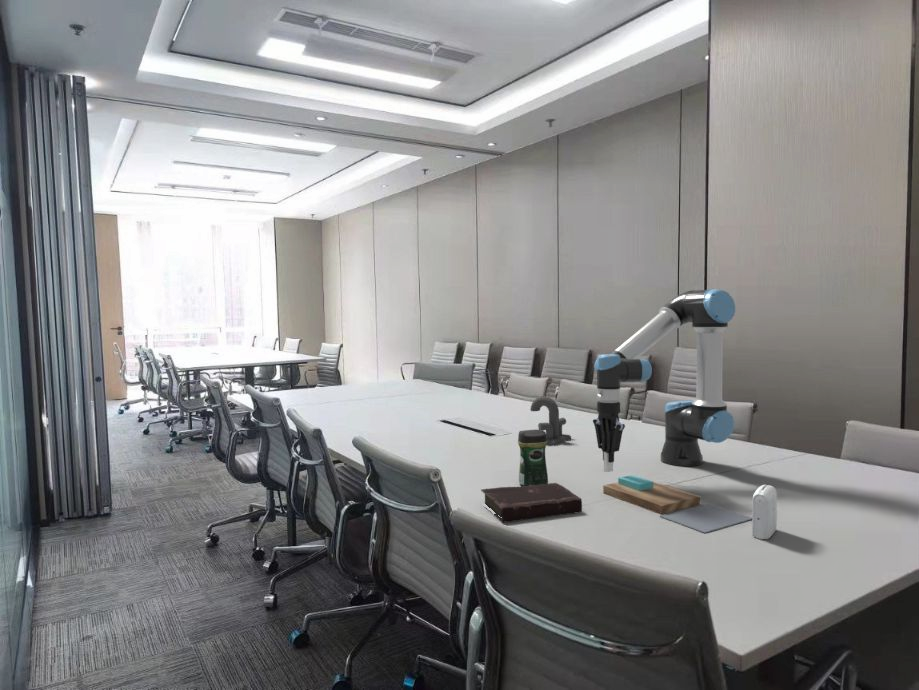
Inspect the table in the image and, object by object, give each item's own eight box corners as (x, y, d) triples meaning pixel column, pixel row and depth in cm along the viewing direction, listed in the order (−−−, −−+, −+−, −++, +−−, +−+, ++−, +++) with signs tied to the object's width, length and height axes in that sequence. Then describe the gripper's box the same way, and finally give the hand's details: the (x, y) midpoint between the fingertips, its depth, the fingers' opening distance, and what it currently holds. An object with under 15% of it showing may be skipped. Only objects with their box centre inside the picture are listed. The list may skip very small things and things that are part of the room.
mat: (707, 504, 179) (707, 503, 178) (753, 519, 165) (753, 518, 165) (659, 516, 169) (659, 515, 169) (704, 533, 156) (704, 532, 156)
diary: (582, 515, 174) (582, 498, 174) (502, 525, 167) (501, 507, 166) (554, 495, 192) (554, 480, 191) (480, 504, 184) (479, 488, 184)
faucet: (540, 434, 283) (540, 392, 282) (571, 438, 274) (571, 394, 273) (521, 442, 269) (520, 397, 268) (553, 446, 260) (552, 400, 258)
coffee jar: (542, 480, 208) (542, 427, 207) (550, 486, 200) (550, 431, 199) (515, 482, 206) (515, 428, 205) (522, 488, 198) (522, 433, 197)
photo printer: (768, 541, 150) (769, 492, 149) (750, 537, 152) (750, 489, 152) (778, 529, 158) (779, 483, 157) (760, 526, 160) (761, 480, 160)
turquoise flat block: (632, 481, 196) (632, 475, 195) (653, 487, 188) (653, 481, 188) (618, 484, 193) (618, 477, 193) (639, 491, 185) (639, 484, 185)
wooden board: (639, 485, 199) (639, 477, 199) (700, 504, 178) (700, 496, 178) (603, 493, 192) (603, 485, 192) (661, 514, 171) (661, 505, 171)
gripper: (586, 399, 203) (586, 468, 204) (613, 404, 192) (613, 477, 193) (603, 397, 207) (603, 465, 208) (631, 402, 195) (631, 474, 197)
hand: (608, 471), depth 200 cm, fingers closed
